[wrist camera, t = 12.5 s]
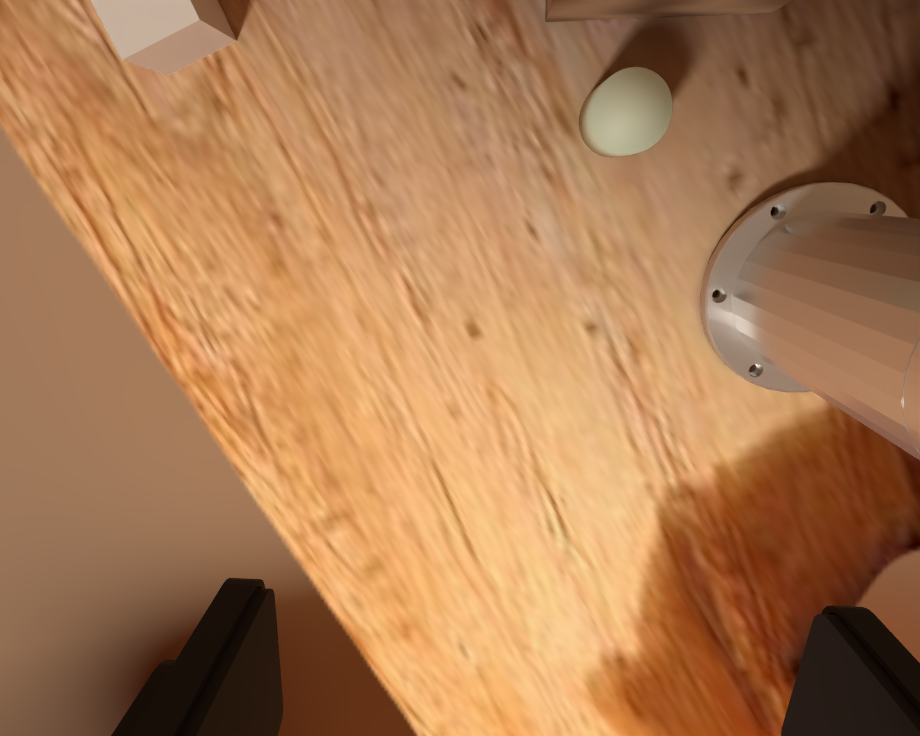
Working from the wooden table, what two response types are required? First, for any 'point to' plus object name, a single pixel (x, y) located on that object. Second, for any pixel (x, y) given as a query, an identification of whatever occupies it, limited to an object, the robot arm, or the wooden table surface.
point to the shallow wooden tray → (652, 8)
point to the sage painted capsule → (626, 113)
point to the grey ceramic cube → (165, 31)
